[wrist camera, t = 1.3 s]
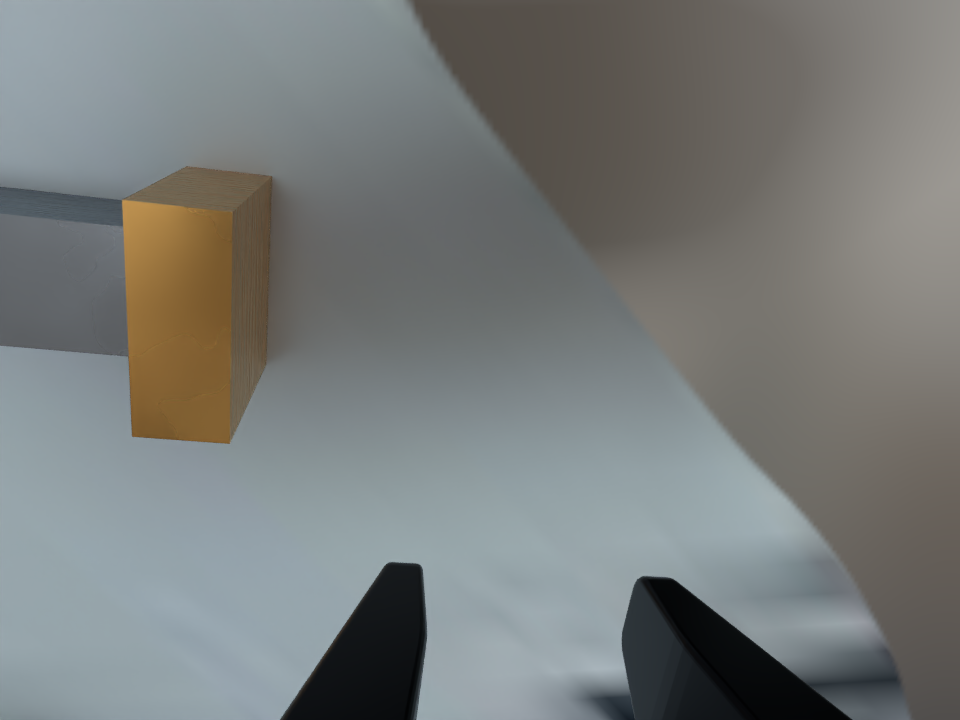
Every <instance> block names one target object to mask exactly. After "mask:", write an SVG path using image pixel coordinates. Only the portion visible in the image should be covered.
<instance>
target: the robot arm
mask: <svg viewBox="0 0 960 720" xmlns="http://www.w3.org/2000/svg"><path fill="white" fill-rule="evenodd" d="M426 641H427V621H426V607H425V593H424V579H423V569H422V567H421V566H420V565H419V564H416V563H398V562H389V563H387V564H386V565H385V566H384V567H383V569H382V570H381V572H380V573H379V575H378V576H377V578H376V579H375V581H374V582H373V584H372V585H371V587H370V588H369V589H368V591H367V592H366V594H365V595H364V597H363V598H362V600H361V601H360V603H359V604H358V606H357V607H356V609H355V610H354V612H353V613H352V615H351V616H350V617H349V619H348V620H347V622H346V623H345V625H344V626H343V628H342V629H341V631H340V632H339V634H338V635H337V637H336V638H335V640H334V641H333V643H332V644H331V645H330V647H329V648H328V650H327V651H326V653H325V654H324V656H323V657H322V659H321V660H320V662H319V663H318V665H317V666H316V668H315V669H314V671H313V672H312V673H311V675H310V676H309V678H308V679H307V681H306V682H305V684H304V685H303V687H302V688H301V690H300V691H299V693H298V694H297V696H296V697H295V699H294V700H293V701H292V703H291V704H290V706H289V707H288V709H287V710H286V712H285V713H284V715H283V716H282V718H281V719H280V720H416V717H417V710H418V703H419V695H420V688H421V680H422V673H423V665H424V658H425V650H426ZM622 651H623V657H624V662H625V668H626V673H627V679H628V684H629V690H630V695H631V700H632V706H633V711H634V717H635V720H852V719H851V718H849V717H848V716H847V715H846V714H844V713H843V712H842V711H841V710H839V709H838V708H837V707H836V706H834V705H833V704H832V703H830V702H829V701H828V700H827V699H825V698H824V697H823V696H822V695H820V694H819V693H818V692H816V691H815V690H814V689H813V688H811V687H810V686H809V685H808V684H806V683H805V682H804V681H803V680H801V679H800V678H799V677H797V676H796V675H795V674H794V673H792V672H791V671H790V670H789V669H787V668H786V667H785V666H783V665H782V664H781V663H780V662H778V661H777V660H776V659H775V658H773V657H772V656H771V655H770V654H768V653H767V652H766V651H764V650H763V649H762V648H761V647H759V646H758V645H757V644H756V643H754V642H753V641H752V640H750V639H749V638H748V637H747V636H745V635H744V634H743V633H742V632H740V631H739V630H738V629H737V628H735V627H734V626H733V625H731V624H730V623H729V622H728V621H726V620H725V619H724V618H723V617H721V616H720V615H719V614H717V613H716V612H715V611H714V610H712V609H711V608H710V607H709V606H707V605H706V604H705V603H704V602H702V601H701V600H700V599H698V598H697V597H696V596H695V595H693V594H692V593H691V592H690V591H688V590H687V589H686V588H684V587H683V586H682V585H681V584H679V583H678V582H677V581H675V580H674V579H672V578H668V577H651V576H642V577H640V578H639V579H637V581H636V583H635V585H634V587H633V591H632V595H631V599H630V603H629V607H628V611H627V615H626V619H625V623H624V627H623V631H622Z"/></svg>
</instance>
